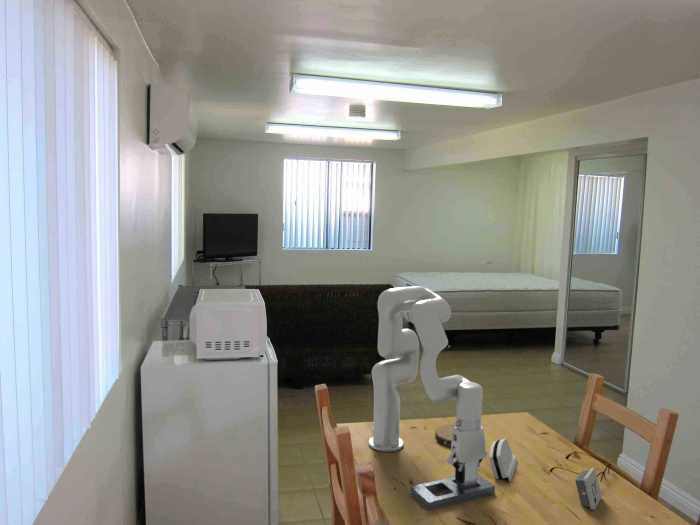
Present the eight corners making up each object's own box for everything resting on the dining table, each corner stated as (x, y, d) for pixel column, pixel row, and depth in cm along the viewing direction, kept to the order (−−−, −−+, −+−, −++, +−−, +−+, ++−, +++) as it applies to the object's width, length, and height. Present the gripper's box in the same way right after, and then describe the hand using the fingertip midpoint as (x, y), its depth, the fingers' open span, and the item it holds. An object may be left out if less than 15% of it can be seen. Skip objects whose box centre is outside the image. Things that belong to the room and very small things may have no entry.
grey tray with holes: (410, 494, 172) (410, 486, 171) (474, 479, 182) (474, 471, 182) (428, 510, 163) (428, 502, 162) (494, 493, 173) (494, 486, 173)
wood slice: (446, 428, 224) (446, 420, 223) (484, 438, 214) (484, 430, 214) (427, 441, 211) (427, 433, 210) (467, 453, 202) (467, 445, 201)
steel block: (455, 484, 175) (456, 453, 174) (467, 481, 177) (468, 451, 176) (464, 491, 171) (465, 460, 170) (476, 488, 173) (477, 457, 172)
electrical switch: (593, 511, 164) (592, 480, 163) (575, 507, 167) (574, 476, 167) (602, 498, 171) (600, 468, 171) (584, 494, 174) (583, 465, 174)
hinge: (510, 482, 180) (501, 451, 181) (496, 483, 182) (487, 453, 183) (517, 460, 196) (509, 432, 196) (504, 462, 198) (495, 434, 198)
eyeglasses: (595, 490, 177) (596, 478, 176) (546, 473, 187) (547, 462, 187) (612, 472, 189) (613, 461, 188) (566, 457, 199) (566, 446, 199)
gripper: (452, 432, 165) (450, 491, 167) (498, 423, 172) (495, 480, 174) (438, 422, 172) (436, 479, 174) (483, 414, 179) (480, 469, 181)
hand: (466, 479), depth 174 cm, fingers closed on steel block, 4 cm apart
